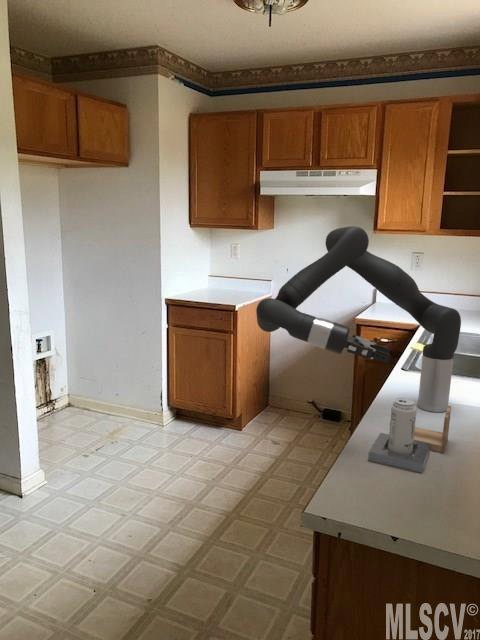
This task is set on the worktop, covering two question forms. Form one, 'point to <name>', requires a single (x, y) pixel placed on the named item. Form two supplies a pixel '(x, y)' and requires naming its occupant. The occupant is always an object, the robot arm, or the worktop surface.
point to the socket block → (396, 459)
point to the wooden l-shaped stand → (435, 435)
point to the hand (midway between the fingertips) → (389, 356)
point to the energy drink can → (402, 426)
